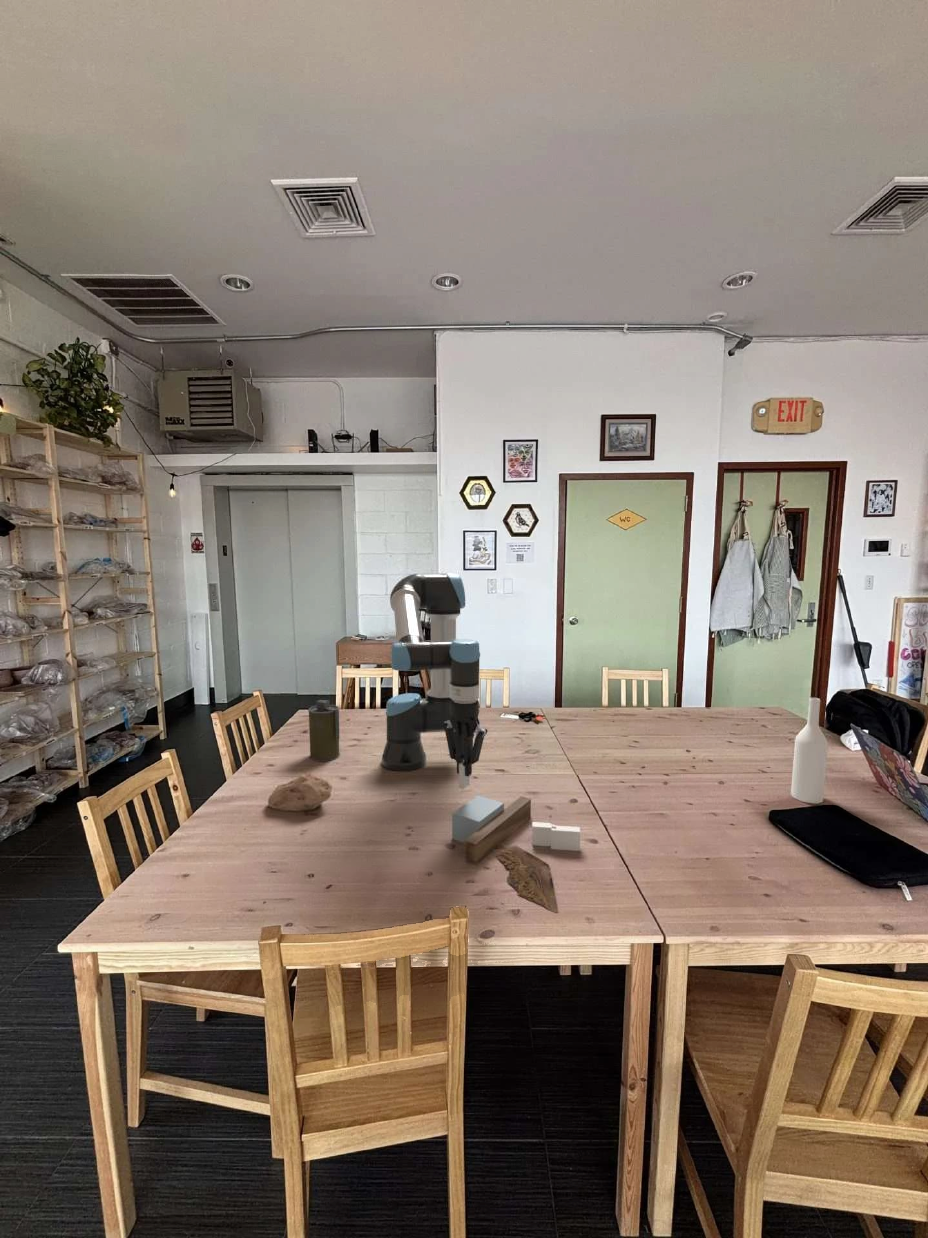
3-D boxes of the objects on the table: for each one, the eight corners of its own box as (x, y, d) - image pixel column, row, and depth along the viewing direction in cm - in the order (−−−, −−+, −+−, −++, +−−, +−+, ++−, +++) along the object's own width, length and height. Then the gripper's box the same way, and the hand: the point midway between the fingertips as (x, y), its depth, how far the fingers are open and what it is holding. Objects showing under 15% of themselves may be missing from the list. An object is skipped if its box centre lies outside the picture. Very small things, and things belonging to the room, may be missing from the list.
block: (452, 839, 137) (452, 813, 136) (478, 820, 147) (478, 795, 146) (479, 849, 132) (479, 821, 131) (503, 828, 142) (504, 803, 141)
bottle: (795, 789, 166) (802, 693, 162) (826, 797, 160) (834, 698, 156) (787, 797, 160) (795, 698, 156) (819, 806, 154) (828, 704, 151)
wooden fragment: (491, 849, 132) (491, 845, 132) (534, 844, 134) (534, 840, 134) (524, 919, 107) (524, 914, 107) (576, 912, 109) (576, 907, 109)
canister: (303, 759, 189) (301, 703, 187) (321, 749, 199) (320, 696, 196) (329, 763, 185) (327, 706, 183) (346, 753, 195) (345, 699, 192)
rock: (336, 798, 159) (335, 766, 158) (329, 814, 149) (328, 780, 148) (272, 799, 158) (271, 767, 157) (261, 816, 148) (260, 781, 147)
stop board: (464, 860, 127) (464, 840, 126) (520, 813, 150) (521, 796, 149) (475, 864, 125) (475, 844, 125) (530, 816, 148) (530, 799, 148)
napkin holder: (592, 849, 133) (593, 827, 132) (565, 867, 125) (566, 844, 124) (543, 827, 143) (543, 806, 143) (515, 843, 136) (516, 821, 135)
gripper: (435, 699, 140) (435, 785, 143) (478, 707, 133) (477, 798, 136) (452, 692, 146) (452, 775, 149) (493, 700, 139) (492, 787, 142)
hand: (464, 786), depth 143 cm, fingers closed
